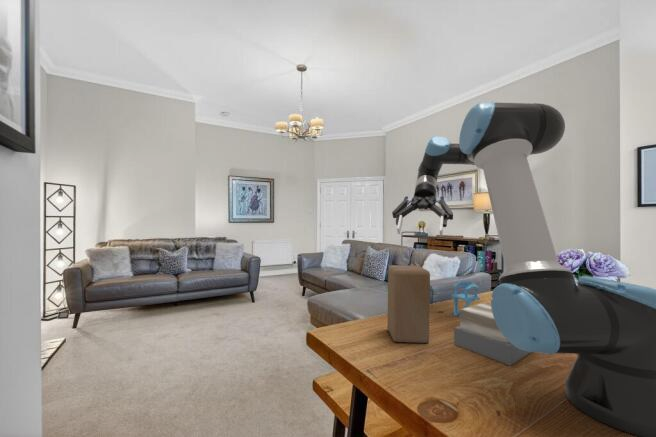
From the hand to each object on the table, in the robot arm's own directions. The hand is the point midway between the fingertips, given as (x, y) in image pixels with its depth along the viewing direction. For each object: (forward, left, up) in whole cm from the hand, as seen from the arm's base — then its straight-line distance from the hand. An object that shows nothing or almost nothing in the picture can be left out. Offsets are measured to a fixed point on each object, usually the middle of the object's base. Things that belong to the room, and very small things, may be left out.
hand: (419, 232), depth 96 cm
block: (-14, +1, -30) cm, 33 cm away
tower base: (-11, -21, -30) cm, 38 cm away
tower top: (-11, -21, -25) cm, 35 cm away
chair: (+15, -15, -30) cm, 37 cm away
